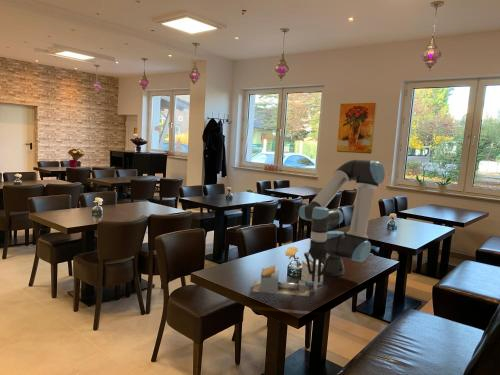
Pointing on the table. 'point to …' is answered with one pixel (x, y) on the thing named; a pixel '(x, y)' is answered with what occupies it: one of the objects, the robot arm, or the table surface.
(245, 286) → the table surface
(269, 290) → the hitch block
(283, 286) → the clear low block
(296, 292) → the birch board
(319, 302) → the table surface
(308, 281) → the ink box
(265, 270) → the keeper tab
